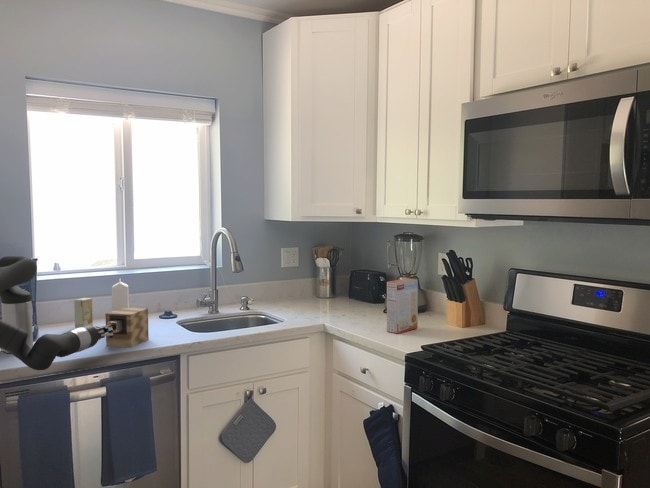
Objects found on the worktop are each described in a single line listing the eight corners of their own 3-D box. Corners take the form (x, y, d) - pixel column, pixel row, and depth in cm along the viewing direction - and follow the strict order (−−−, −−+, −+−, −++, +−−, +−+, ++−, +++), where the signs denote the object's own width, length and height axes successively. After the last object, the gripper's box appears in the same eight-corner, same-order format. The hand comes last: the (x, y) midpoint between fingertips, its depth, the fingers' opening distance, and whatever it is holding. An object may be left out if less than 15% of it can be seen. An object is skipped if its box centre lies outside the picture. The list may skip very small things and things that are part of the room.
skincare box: (83, 329, 223) (82, 300, 222) (74, 329, 224) (73, 299, 223) (93, 326, 229) (92, 297, 228) (84, 325, 230) (83, 297, 229)
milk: (112, 335, 214) (110, 279, 212) (114, 331, 220) (112, 277, 218) (129, 334, 216) (127, 279, 214) (130, 330, 221) (128, 277, 220)
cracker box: (406, 326, 230) (407, 277, 229) (418, 328, 226) (418, 279, 224) (385, 331, 220) (386, 280, 219) (397, 334, 216) (397, 282, 215)
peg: (116, 332, 192) (116, 322, 191) (107, 332, 192) (107, 322, 192) (135, 325, 203) (134, 315, 203) (126, 324, 204) (126, 315, 204)
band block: (131, 347, 195) (130, 314, 194) (106, 346, 197) (105, 313, 196) (148, 339, 207) (147, 308, 206) (124, 338, 209) (124, 307, 208)
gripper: (98, 328, 173) (128, 317, 190) (61, 326, 176) (95, 316, 193) (98, 351, 174) (128, 338, 191) (62, 349, 177) (95, 336, 194)
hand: (111, 327), depth 192 cm, fingers closed
